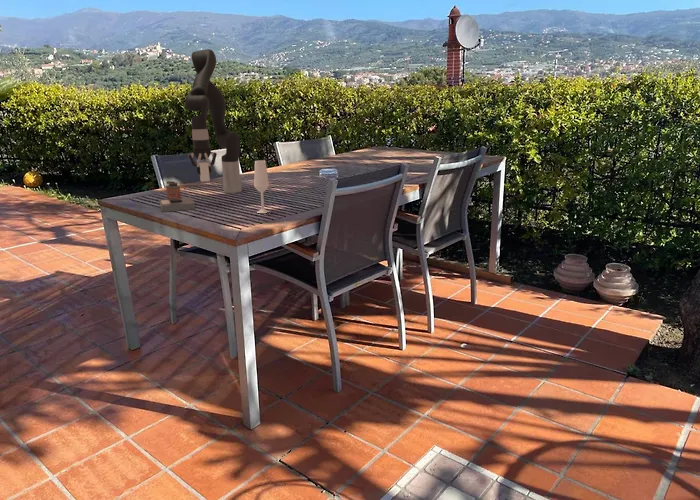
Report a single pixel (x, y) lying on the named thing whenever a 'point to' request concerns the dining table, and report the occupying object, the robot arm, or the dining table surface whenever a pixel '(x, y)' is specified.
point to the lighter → (173, 190)
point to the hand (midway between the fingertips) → (204, 174)
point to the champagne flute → (261, 181)
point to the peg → (204, 171)
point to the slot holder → (177, 204)
